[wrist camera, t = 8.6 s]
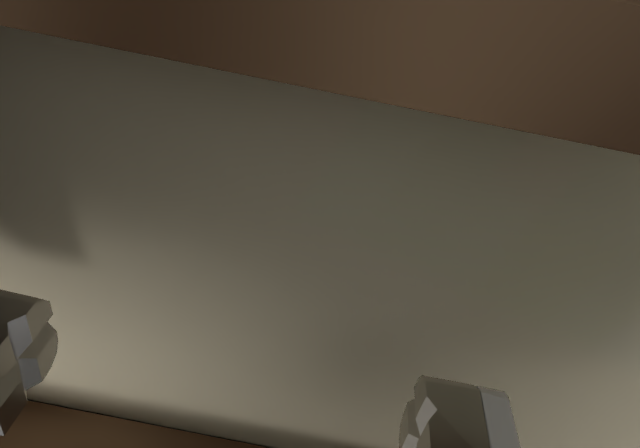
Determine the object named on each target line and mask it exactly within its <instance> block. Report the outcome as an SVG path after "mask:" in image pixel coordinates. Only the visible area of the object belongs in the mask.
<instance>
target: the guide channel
mask: <svg viewBox="0 0 640 448" xmlns="http://www.w3.org/2000/svg"><path fill="white" fill-rule="evenodd" d="M0 25H1V26H6V27H11V28H16V29H21V30H26V31H31V32H36V33H41V34H46V35H51V36H56V37H60V38H65V39H70V40H75V41H80V42H85V43H90V44H95V45H100V46H105V47H110V48H115V49H120V50H125V51H130V52H134V53H139V54H144V55H149V56H154V57H159V58H164V59H169V60H174V61H179V62H184V63H189V64H194V65H199V66H204V67H208V68H213V69H218V70H223V71H228V72H233V73H238V74H243V75H248V76H253V77H258V78H263V79H268V80H273V81H278V82H282V83H287V84H292V85H297V86H302V87H307V88H312V89H317V90H322V91H327V92H332V93H337V94H342V95H347V96H352V97H356V98H361V99H366V100H371V101H376V102H381V103H386V104H391V105H396V106H401V107H406V108H411V109H416V110H421V111H426V112H430V113H435V114H440V115H445V116H450V117H455V118H460V119H465V120H470V121H475V122H480V123H485V124H490V125H495V126H500V127H504V128H509V129H514V130H519V131H524V132H529V133H534V134H539V135H544V136H549V137H554V138H559V139H564V140H569V141H574V142H578V143H583V144H588V145H593V146H598V147H603V148H608V149H613V150H618V151H623V152H628V153H633V154H638V155H640V0H0ZM0 448H267V447H262V446H257V445H252V444H247V443H242V442H237V441H232V440H227V439H222V438H217V437H212V436H206V435H201V434H196V433H191V432H186V431H181V430H176V429H171V428H166V427H161V426H156V425H150V424H145V423H140V422H135V421H130V420H125V419H120V418H115V417H110V416H105V415H100V414H94V413H89V412H84V411H79V410H74V409H69V408H64V407H59V406H54V405H49V404H44V403H38V402H33V401H28V400H27V404H26V405H25V407H24V408H23V410H22V411H21V413H20V414H19V415H18V417H17V418H16V420H15V421H14V423H13V424H12V425H11V427H10V428H9V430H8V431H7V433H6V434H5V435H4V436H1V435H0Z"/></svg>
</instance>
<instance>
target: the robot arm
mask: <svg viewBox="0 0 640 448" xmlns="http://www.w3.org/2000/svg"><path fill="white" fill-rule="evenodd" d="M52 315H53V312H52V308H51V304H50V301H47V300H44V299H40V298H35V297H31V296H27V295H22V294H18V293H14V292H9V291H5V290H1V289H0V435H1V436H4V435H5V434H6V433H7V431H8V430H9V428H10V427H11V425H12V424H13V423H14V421H15V420H16V418H17V417H18V415H19V414H20V413H21V411H22V410H23V408H24V407H25V405H26V404H27V392H26V390H27V389H29V388H31V387H33V386H35V385H36V384H38V383H40V382H42V381H43V379H44V378H45V376H46V375H47V373H48V372H49V370H50V369H51V367H52V364H53V362H54V359H55V356H56V354H57V348H58V336H57V331H56V330H55V329H54V328H53V327H52V326H51V325H50V324H49V323H48V320H49V319H50V318H51V316H52ZM414 397H415V399H413V400H411V401H409V402H407V405H406V407H405V410H404V412H403V416H402V420H401V425H400V434H399V448H521V447H520V442H519V438H518V434H517V430H516V426H515V422H514V418H513V414H512V409H511V405H510V401H509V397H508V396H507V394H506V393H505V392H504V391H499V390H494V389H489V388H484V387H479V386H474V385H472V384H467V383H461V382H456V381H451V380H445V379H440V378H435V377H429V376H424V375H422V376H420V377H419V378H418V380H417V382H416V384H415V386H414Z"/></svg>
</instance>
